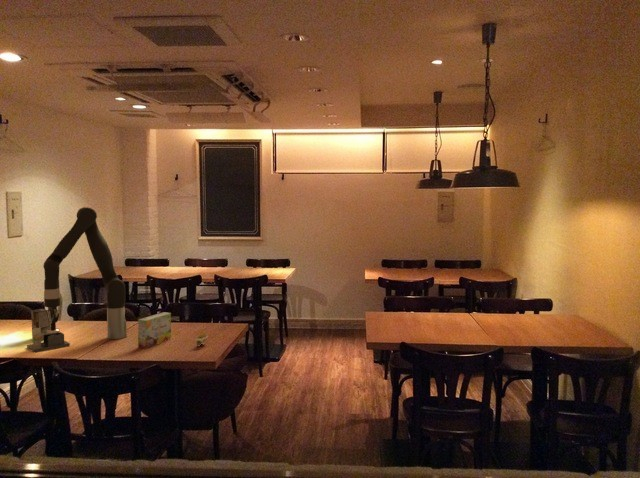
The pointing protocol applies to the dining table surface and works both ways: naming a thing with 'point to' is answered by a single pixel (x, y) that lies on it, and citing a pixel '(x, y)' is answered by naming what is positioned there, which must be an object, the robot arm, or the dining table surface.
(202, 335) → the pale green irregular piece
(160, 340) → the snack box
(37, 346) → the stand
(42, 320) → the coffee box
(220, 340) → the dining table surface
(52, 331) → the plunger
